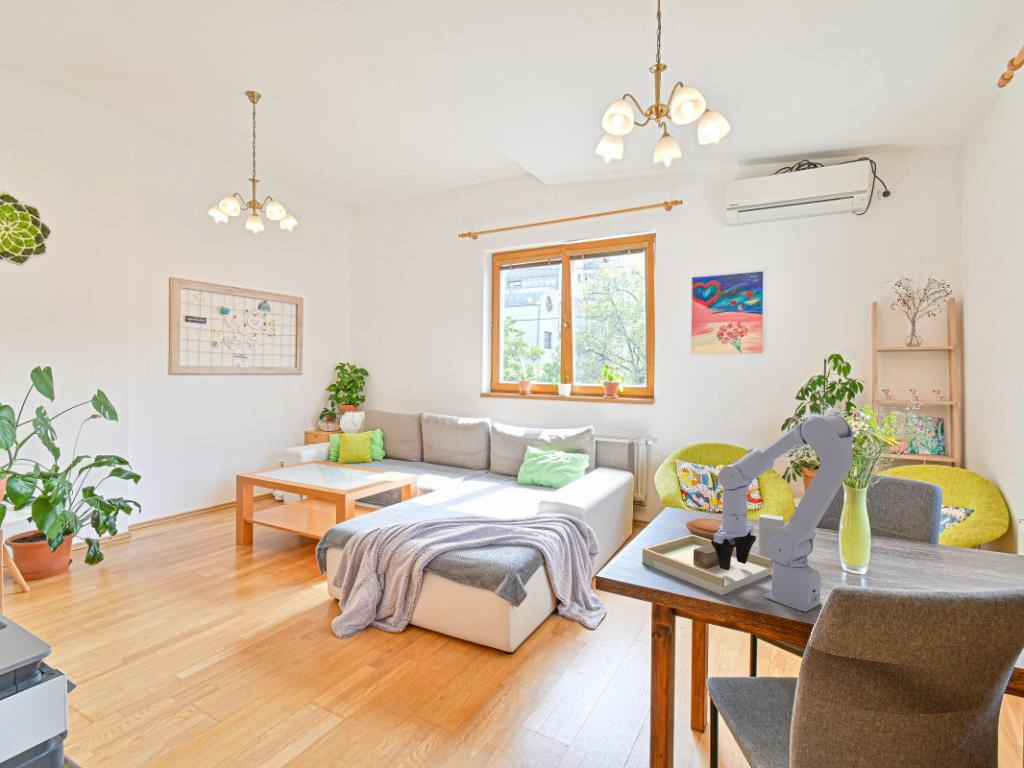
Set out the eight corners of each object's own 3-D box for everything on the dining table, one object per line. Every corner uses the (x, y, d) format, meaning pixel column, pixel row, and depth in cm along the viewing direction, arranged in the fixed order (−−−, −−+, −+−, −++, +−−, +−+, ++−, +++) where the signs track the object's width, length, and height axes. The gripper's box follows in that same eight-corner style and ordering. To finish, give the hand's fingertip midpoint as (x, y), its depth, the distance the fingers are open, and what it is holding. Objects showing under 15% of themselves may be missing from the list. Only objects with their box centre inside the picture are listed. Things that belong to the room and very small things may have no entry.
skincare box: (783, 558, 146) (784, 516, 145) (782, 563, 142) (783, 520, 142) (759, 554, 149) (760, 513, 148) (758, 559, 145) (759, 516, 145)
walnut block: (727, 561, 137) (727, 547, 137) (706, 569, 132) (707, 553, 132) (713, 557, 141) (713, 542, 141) (693, 564, 135) (693, 549, 135)
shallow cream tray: (771, 574, 134) (771, 559, 134) (721, 595, 122) (722, 578, 121) (691, 547, 154) (692, 534, 154) (642, 563, 141) (642, 548, 141)
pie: (731, 550, 152) (731, 533, 152) (678, 539, 162) (679, 523, 161) (743, 537, 164) (744, 521, 164) (694, 527, 174) (695, 512, 174)
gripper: (736, 504, 138) (734, 555, 139) (703, 513, 130) (702, 566, 130) (761, 511, 132) (760, 563, 133) (729, 520, 124) (727, 576, 124)
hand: (733, 565), depth 131 cm, fingers open, 7 cm apart
